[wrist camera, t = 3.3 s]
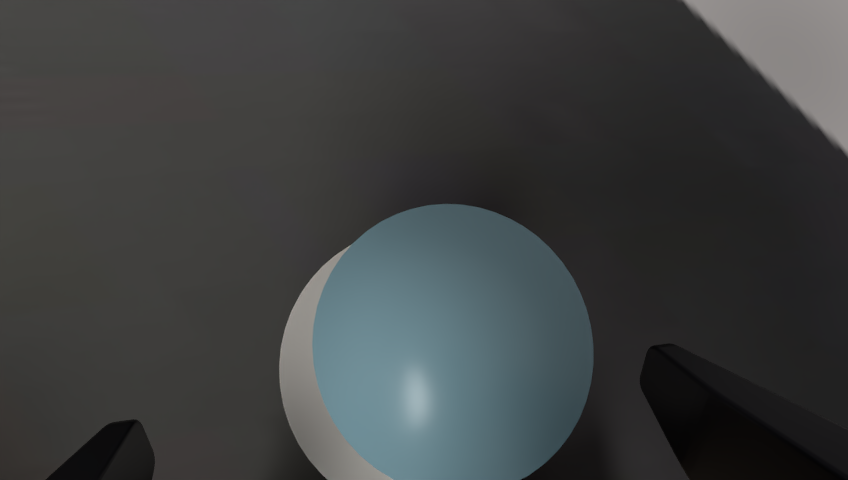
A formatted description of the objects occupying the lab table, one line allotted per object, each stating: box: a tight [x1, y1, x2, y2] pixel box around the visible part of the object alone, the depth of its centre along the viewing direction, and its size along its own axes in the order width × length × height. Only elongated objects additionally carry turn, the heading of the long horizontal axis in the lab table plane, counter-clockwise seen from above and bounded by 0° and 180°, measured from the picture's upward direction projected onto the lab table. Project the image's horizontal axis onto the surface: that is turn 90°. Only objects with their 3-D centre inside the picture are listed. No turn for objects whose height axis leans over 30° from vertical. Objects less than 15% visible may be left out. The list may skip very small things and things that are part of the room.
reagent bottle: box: [279, 204, 593, 480], centre depth 10 cm, size 5×5×12 cm
